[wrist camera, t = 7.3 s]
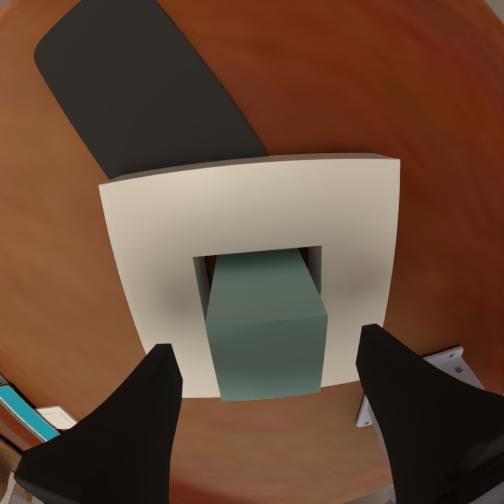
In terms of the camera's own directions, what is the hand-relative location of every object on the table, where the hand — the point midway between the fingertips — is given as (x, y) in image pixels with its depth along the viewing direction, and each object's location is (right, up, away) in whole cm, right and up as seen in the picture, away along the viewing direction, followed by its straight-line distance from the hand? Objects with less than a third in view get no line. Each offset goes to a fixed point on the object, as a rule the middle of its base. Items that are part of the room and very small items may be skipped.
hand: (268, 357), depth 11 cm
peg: (0, +3, +6) cm, 7 cm away
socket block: (0, +3, +6) cm, 7 cm away
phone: (-7, +12, +2) cm, 14 cm away
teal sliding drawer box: (-25, -15, +13) cm, 32 cm away
